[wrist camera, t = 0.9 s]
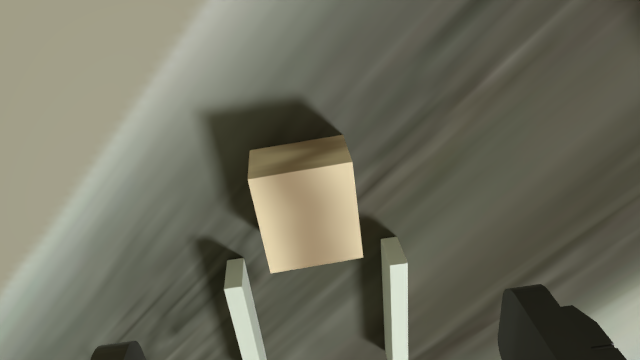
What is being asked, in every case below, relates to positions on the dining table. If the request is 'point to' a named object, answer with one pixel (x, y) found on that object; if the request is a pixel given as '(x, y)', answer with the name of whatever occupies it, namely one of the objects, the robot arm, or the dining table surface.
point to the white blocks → (392, 304)
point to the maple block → (305, 203)
